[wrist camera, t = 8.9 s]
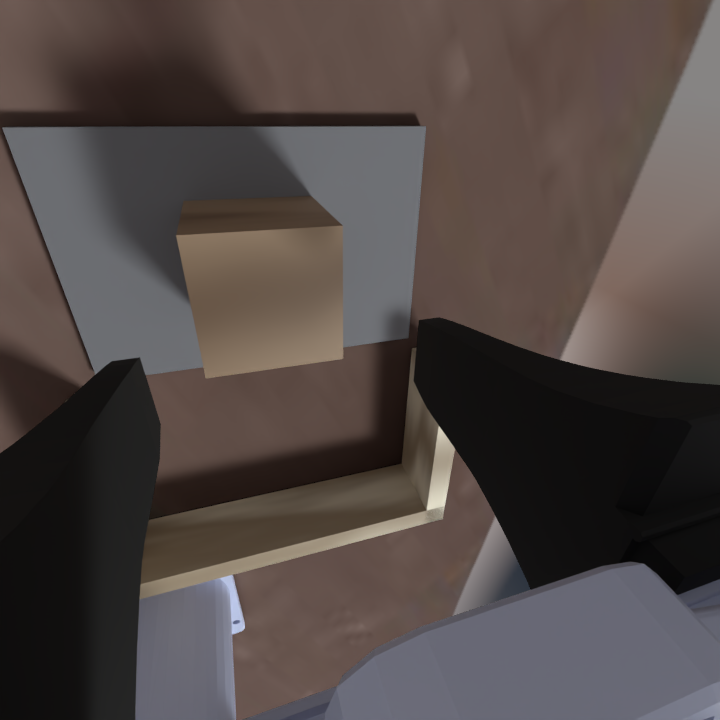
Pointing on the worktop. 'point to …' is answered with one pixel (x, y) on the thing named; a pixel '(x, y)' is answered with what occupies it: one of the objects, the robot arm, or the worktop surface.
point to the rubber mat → (213, 182)
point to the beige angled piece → (304, 514)
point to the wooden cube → (263, 282)
